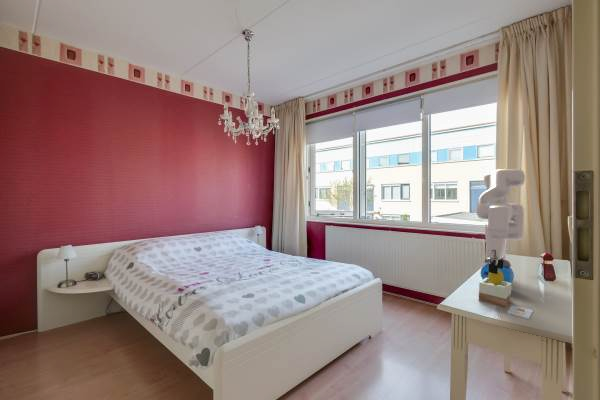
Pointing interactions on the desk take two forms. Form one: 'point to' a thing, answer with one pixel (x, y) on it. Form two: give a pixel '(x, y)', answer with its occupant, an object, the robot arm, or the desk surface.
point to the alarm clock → (506, 270)
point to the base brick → (494, 300)
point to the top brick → (495, 288)
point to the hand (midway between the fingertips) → (495, 270)
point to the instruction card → (520, 312)
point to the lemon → (496, 278)
